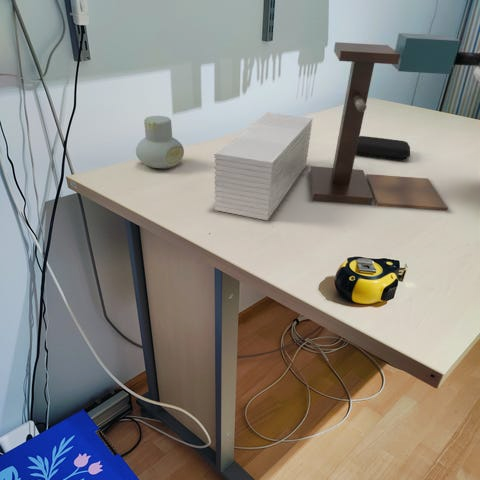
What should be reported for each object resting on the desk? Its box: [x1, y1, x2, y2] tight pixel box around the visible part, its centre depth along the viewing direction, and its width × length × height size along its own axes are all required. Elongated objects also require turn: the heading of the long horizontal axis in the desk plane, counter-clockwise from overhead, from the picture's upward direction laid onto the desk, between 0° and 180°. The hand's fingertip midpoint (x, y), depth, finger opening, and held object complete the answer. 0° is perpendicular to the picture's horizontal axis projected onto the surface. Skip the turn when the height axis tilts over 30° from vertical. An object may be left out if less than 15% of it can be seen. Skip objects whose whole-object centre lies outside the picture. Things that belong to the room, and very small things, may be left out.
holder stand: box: [309, 41, 400, 206], centre depth 84 cm, size 12×18×26 cm, turn 175°
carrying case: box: [356, 135, 411, 161], centre depth 111 cm, size 11×3×15 cm
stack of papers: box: [214, 112, 313, 221], centre depth 88 cm, size 32×11×11 cm, turn 160°
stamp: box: [391, 32, 480, 75], centre depth 76 cm, size 18×7×5 cm, turn 84°
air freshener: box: [135, 115, 185, 169], centre depth 96 cm, size 11×8×10 cm
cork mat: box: [365, 173, 448, 212], centre depth 92 cm, size 14×16×1 cm
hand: (479, 56), depth 75 cm, fingers closed on stamp
